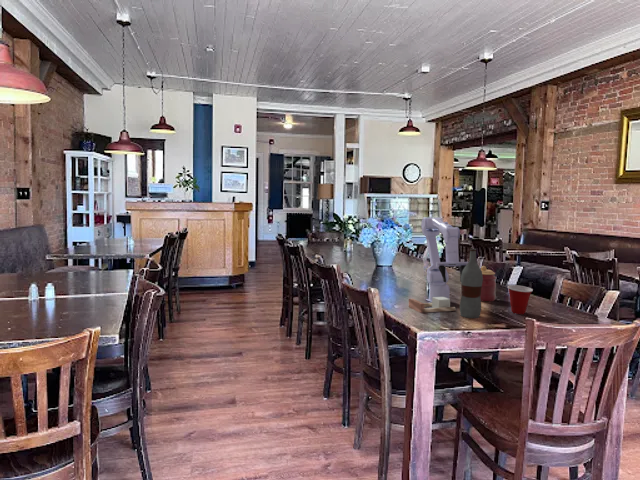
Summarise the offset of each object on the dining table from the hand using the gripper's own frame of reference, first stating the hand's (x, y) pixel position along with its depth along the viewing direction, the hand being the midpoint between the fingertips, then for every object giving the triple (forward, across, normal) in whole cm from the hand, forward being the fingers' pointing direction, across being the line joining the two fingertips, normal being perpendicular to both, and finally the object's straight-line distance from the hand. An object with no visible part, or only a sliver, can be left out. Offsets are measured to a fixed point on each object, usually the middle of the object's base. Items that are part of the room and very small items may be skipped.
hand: (453, 282), depth 218 cm
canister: (+9, +21, +31) cm, 38 cm away
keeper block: (+12, -5, +6) cm, 15 cm away
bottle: (+15, +5, -7) cm, 18 cm away
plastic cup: (+15, +30, +3) cm, 33 cm away
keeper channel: (+12, -10, +4) cm, 16 cm away
